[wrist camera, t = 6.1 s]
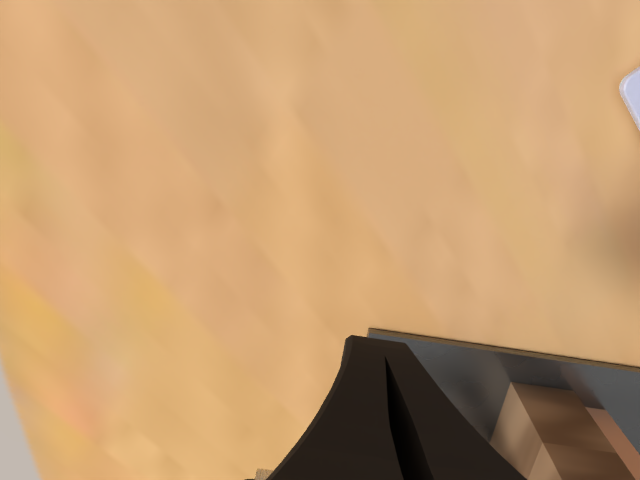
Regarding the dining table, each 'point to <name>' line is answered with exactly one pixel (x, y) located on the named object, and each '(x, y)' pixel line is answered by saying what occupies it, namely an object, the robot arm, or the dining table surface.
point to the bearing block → (553, 437)
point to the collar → (617, 440)
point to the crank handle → (262, 474)
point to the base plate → (521, 379)
